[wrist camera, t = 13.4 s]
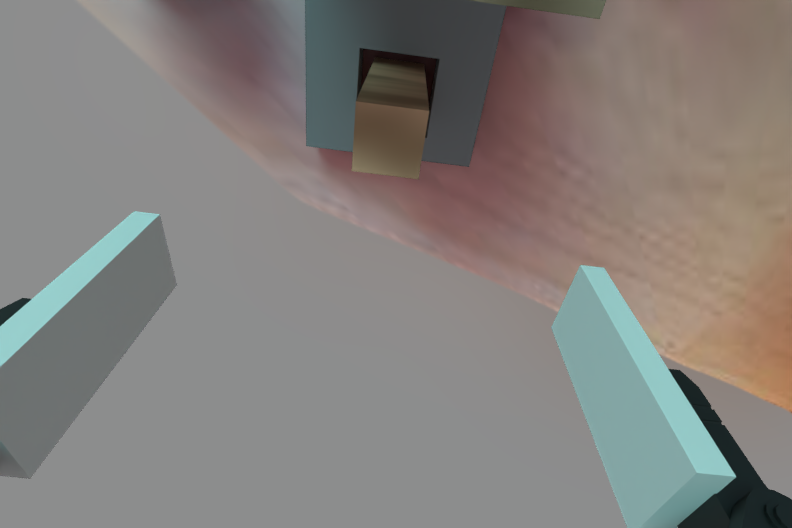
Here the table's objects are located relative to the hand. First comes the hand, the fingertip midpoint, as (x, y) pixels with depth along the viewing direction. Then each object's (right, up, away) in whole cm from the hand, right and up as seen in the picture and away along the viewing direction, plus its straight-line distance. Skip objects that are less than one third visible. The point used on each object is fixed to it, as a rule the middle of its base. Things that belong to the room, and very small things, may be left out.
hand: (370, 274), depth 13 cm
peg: (+1, +15, +22) cm, 26 cm away
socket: (+1, +17, +20) cm, 26 cm away
